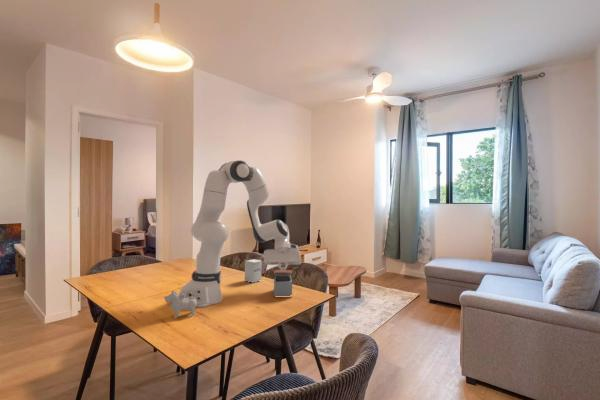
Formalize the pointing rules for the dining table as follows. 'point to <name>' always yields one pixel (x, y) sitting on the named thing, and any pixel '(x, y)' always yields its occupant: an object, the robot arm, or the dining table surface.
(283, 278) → the box
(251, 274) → the white cylinder
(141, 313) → the dining table surface
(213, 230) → the robot arm
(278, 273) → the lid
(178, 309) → the grey dog figurine
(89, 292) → the dining table surface
